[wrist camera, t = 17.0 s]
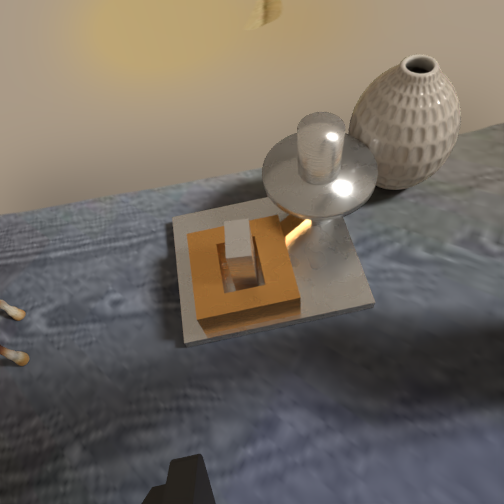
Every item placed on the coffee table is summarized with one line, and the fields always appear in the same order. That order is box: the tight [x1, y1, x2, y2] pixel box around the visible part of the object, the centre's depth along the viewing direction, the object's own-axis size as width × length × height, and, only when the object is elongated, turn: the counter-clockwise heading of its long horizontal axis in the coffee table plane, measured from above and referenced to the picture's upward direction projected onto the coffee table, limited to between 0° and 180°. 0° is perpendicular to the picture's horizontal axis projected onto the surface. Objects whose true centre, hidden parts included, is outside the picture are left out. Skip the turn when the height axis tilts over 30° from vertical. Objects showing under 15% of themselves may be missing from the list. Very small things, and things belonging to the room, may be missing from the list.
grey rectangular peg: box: [224, 218, 259, 291], centre depth 44 cm, size 2×4×10 cm, turn 4°
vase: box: [348, 54, 461, 190], centre depth 49 cm, size 13×13×17 cm
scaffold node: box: [172, 112, 378, 347], centre depth 45 cm, size 26×20×16 cm
